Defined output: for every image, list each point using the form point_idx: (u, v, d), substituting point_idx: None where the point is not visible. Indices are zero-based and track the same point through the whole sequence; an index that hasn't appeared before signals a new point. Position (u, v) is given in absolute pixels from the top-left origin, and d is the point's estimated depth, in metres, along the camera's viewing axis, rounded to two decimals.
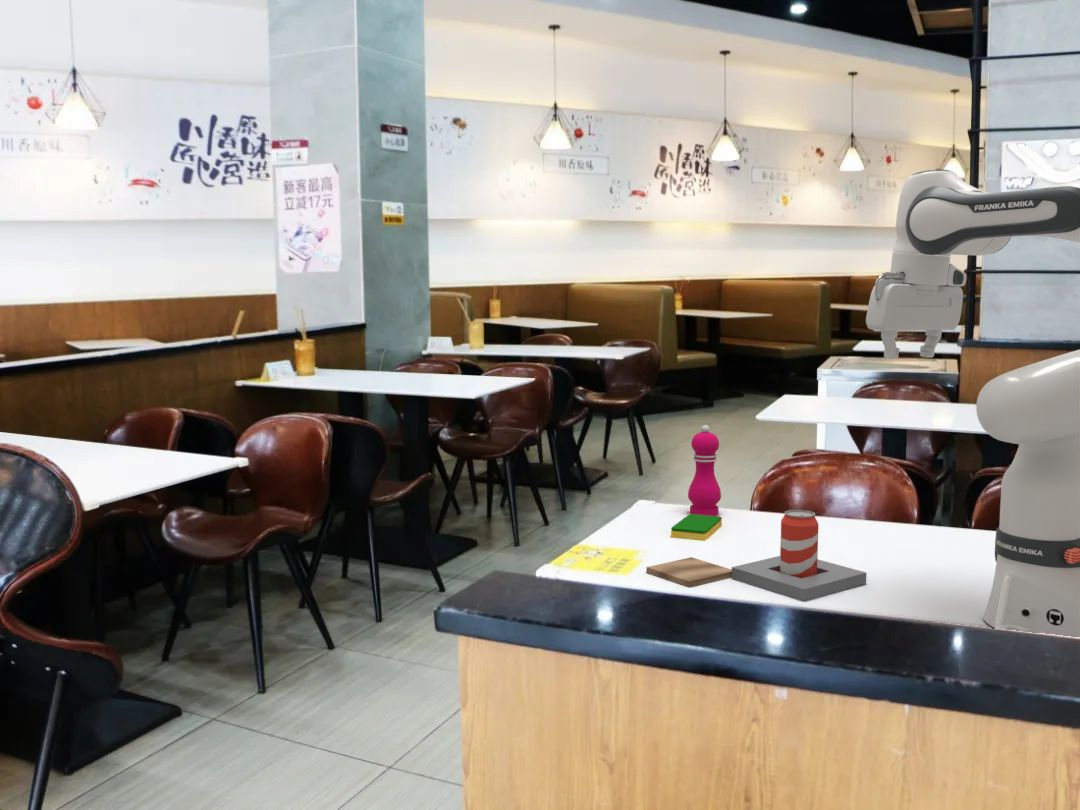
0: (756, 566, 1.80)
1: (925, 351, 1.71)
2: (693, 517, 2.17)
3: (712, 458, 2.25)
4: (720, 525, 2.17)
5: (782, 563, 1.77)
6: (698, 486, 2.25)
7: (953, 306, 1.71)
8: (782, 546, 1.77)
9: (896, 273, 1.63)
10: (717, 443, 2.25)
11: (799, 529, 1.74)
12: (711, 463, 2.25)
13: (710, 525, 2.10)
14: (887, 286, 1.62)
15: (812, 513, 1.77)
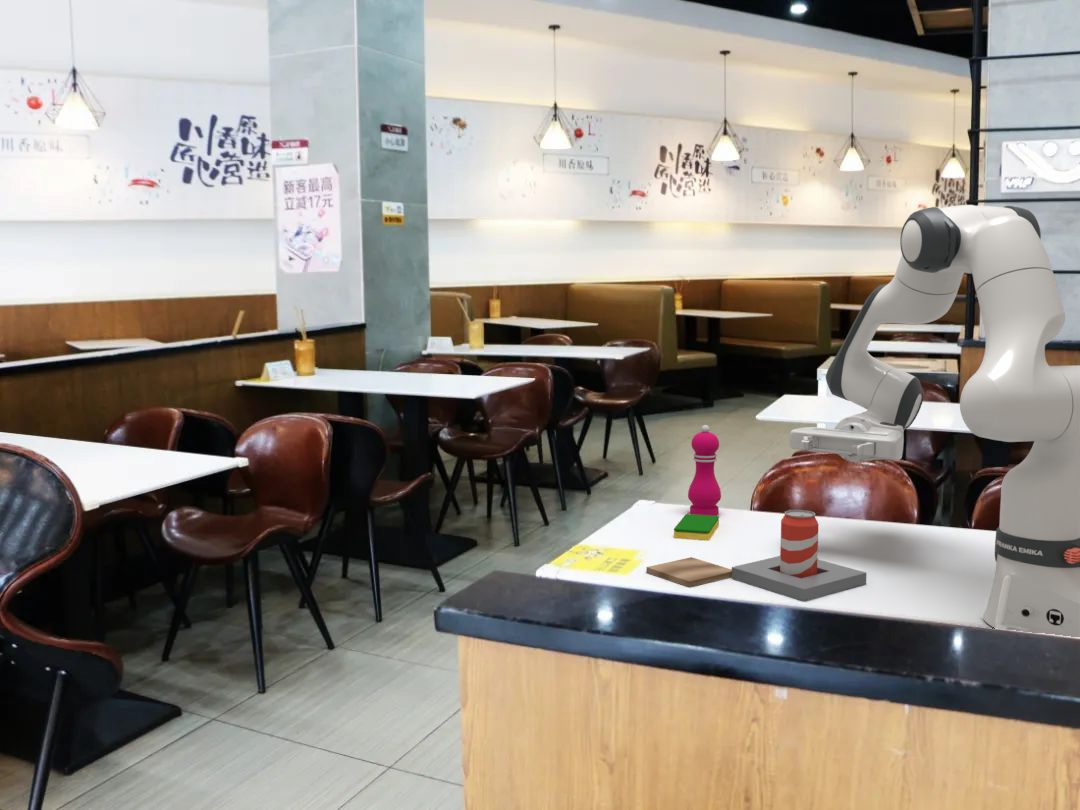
0: (756, 566, 1.80)
1: None
2: (691, 517, 2.17)
3: (712, 458, 2.25)
4: (718, 524, 2.18)
5: (782, 563, 1.77)
6: (698, 486, 2.25)
7: (889, 436, 1.88)
8: (782, 546, 1.77)
9: None
10: (717, 443, 2.25)
11: (799, 529, 1.74)
12: (711, 463, 2.25)
13: (711, 525, 2.11)
14: None
15: (812, 513, 1.77)
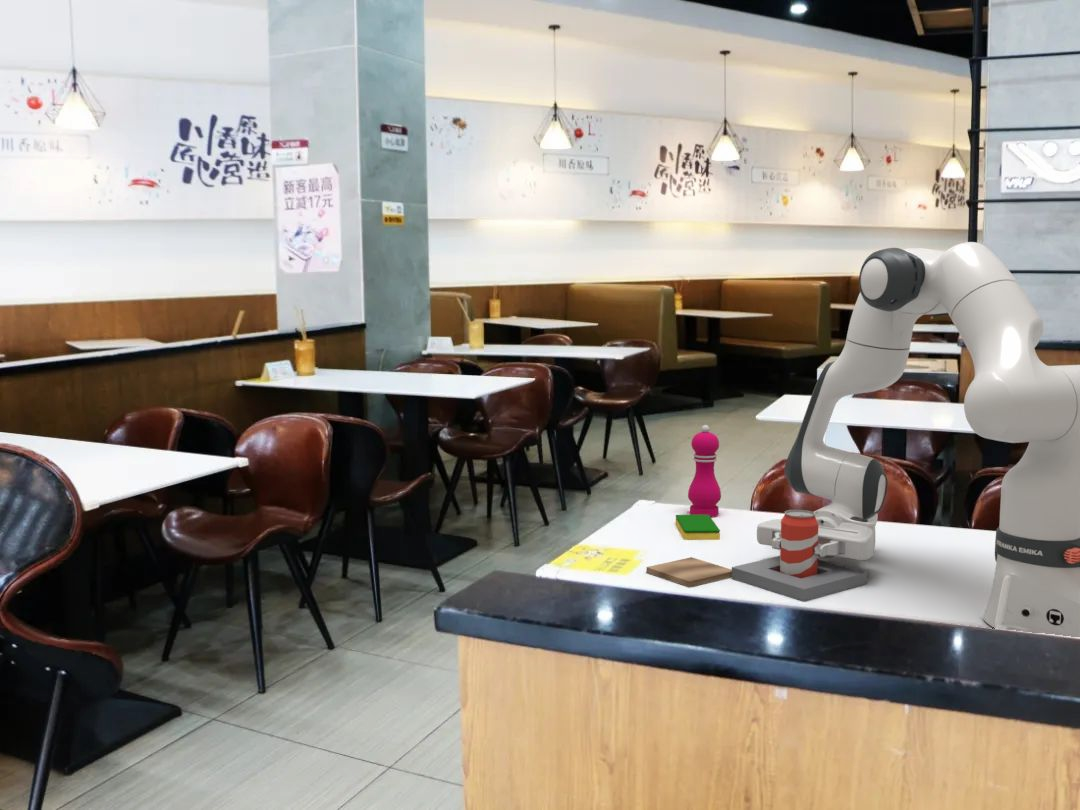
0: (756, 566, 1.80)
1: None
2: (686, 517, 2.17)
3: (712, 458, 2.25)
4: None
5: (782, 563, 1.77)
6: (698, 486, 2.25)
7: (860, 534, 1.79)
8: (782, 546, 1.77)
9: None
10: (717, 443, 2.25)
11: (799, 529, 1.74)
12: (711, 463, 2.25)
13: (714, 524, 2.12)
14: None
15: (812, 513, 1.77)
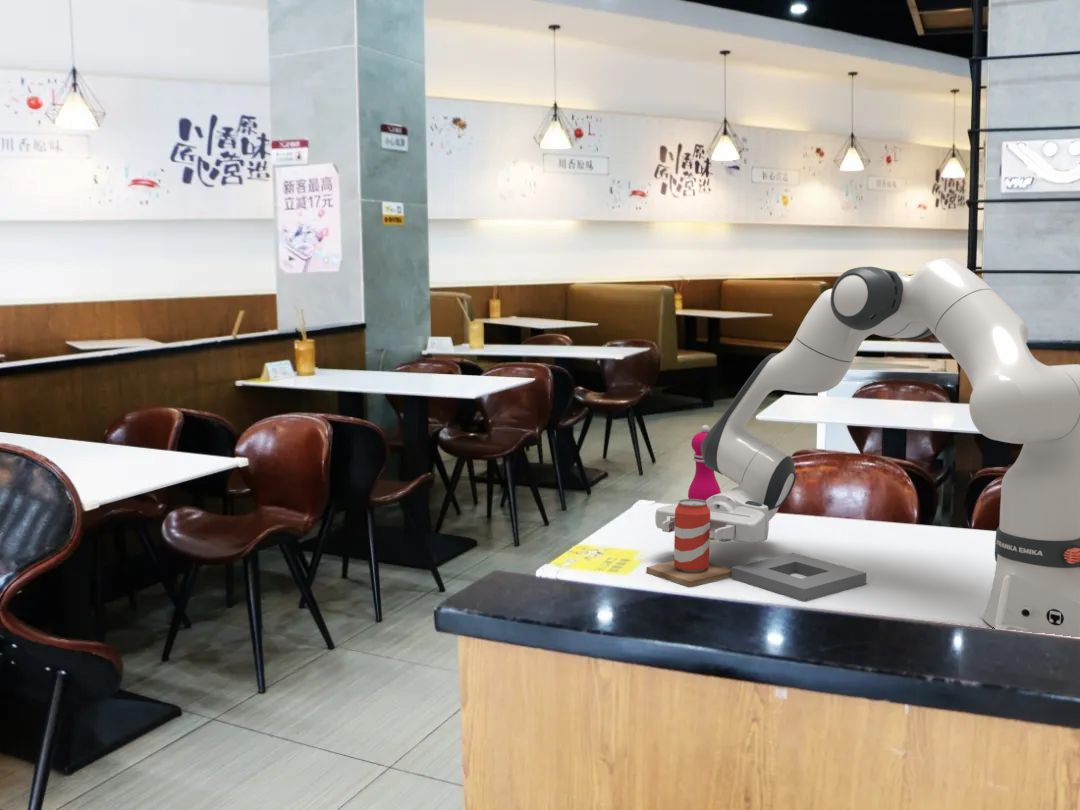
0: (756, 566, 1.80)
1: None
2: None
3: None
4: None
5: (675, 551, 1.81)
6: (698, 486, 2.25)
7: (752, 517, 1.83)
8: (675, 534, 1.81)
9: None
10: None
11: (690, 517, 1.78)
12: None
13: None
14: None
15: (705, 502, 1.82)
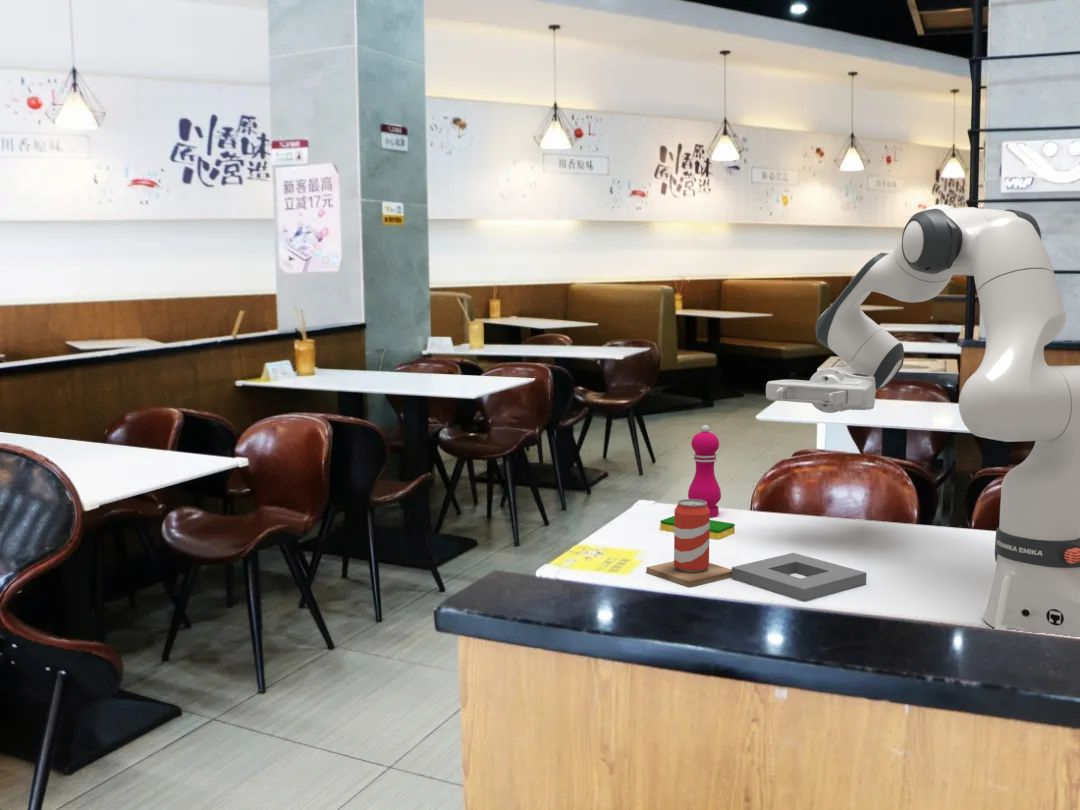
0: (756, 566, 1.80)
1: None
2: None
3: (712, 458, 2.25)
4: None
5: (675, 551, 1.81)
6: (698, 486, 2.25)
7: (861, 385, 1.94)
8: (675, 534, 1.81)
9: None
10: (717, 443, 2.25)
11: (690, 517, 1.78)
12: (711, 463, 2.25)
13: (712, 520, 2.15)
14: None
15: (704, 502, 1.82)
